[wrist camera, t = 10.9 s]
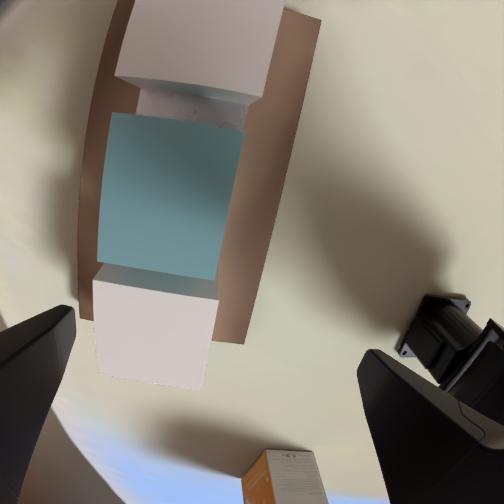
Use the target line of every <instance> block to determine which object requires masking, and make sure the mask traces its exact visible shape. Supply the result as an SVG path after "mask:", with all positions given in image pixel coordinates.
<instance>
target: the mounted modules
mask: <svg viewBox="0 0 504 504" xmlns="http://www.w3.org/2000/svg"><path fill="white" fill-rule="evenodd" d="M284 4H285V0H135V3H134V6H133V9H132V12H131V16H130V19H129V22H128V25H127V29H126V32H125V36H124V39H123V43H122V47H121V51H120V55H119V58H118V63H117V67H116V71H115V75H114V76H116V77H118V78H120V79H122V80H125V81H127V82H129V83H131V84H133V85H135V86H137V87H139V88H143V89H152V90H161V91H169V92H176V93H184V94H190V95H197V96H203V97H209V98H215V99H221V100H226V101H231V102H236V103H241V104H246V105H250V104H251V103H253V102H255V101H256V100H258V99H260V98H261V97H262V96H263V91H264V87H265V83H266V78H267V74H268V70H269V66H270V61H271V57H272V53H273V49H274V45H275V41H276V37H277V32H278V28H279V24H280V20H281V16H282V12H283V8H284ZM218 303H219V289H218V265H217V271H216V276H215V281H213V280H207V279H200V278H194V277H187V276H181V275H175V274H168V273H162V272H156V271H150V270H144V269H138V268H132V267H126V266H121V265H115V264H109V263H104V264H103V265H102V267H101V268H100V270H99V271H98V273H97V274H96V276H95V277H94V279H93V314H94V333H95V347H96V359H97V369H98V373H99V374H104V375H109V376H113V377H118V378H124V379H129V380H134V381H140V382H146V383H152V384H158V385H165V386H172V387H179V388H187V389H195V390H202V389H203V383H204V378H205V372H206V367H207V361H208V356H209V351H210V345H211V340H212V335H213V329H214V324H215V319H216V314H217V308H218Z"/></svg>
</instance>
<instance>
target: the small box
mask: <svg viewBox="0 0 504 504" xmlns="http://www.w3.org/2000/svg"><path fill="white" fill-rule="evenodd" d="M241 483H242V491H243V500H244V504H329V503H328V500H327V497H326V493H325V490H324V487H323V483H322V480H321V476H320V473H319V469H318V466H317V463H316V459H315V456H314V453H313V452H304V451H286V450H269V449H266V450H264V452H263V453H262V455H261V456H260V458H259V459H258V460H257V461H256V463H255V464H254V465H253V466H252V468H251V469H250V470H249V471H248V472H247V473H246V475H245V476H244V477H243V478H242V479H241Z"/></svg>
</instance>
